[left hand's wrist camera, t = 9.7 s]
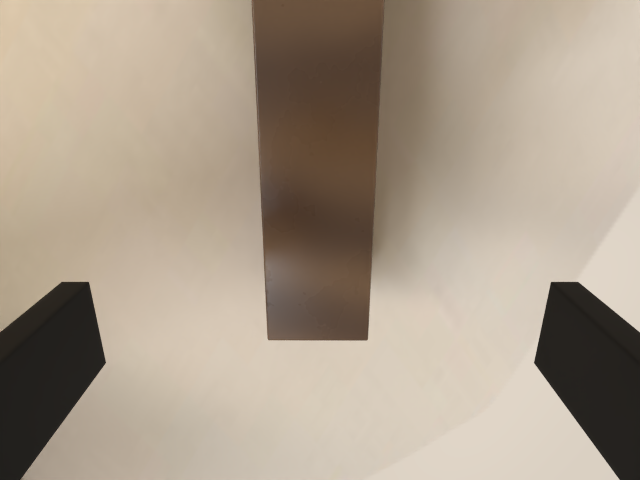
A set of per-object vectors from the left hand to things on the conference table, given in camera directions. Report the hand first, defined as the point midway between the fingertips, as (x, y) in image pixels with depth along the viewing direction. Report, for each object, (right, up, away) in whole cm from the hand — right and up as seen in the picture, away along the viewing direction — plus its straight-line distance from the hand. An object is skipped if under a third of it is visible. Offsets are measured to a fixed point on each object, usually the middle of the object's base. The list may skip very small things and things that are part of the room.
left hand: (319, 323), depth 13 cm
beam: (0, +24, +10) cm, 26 cm away
